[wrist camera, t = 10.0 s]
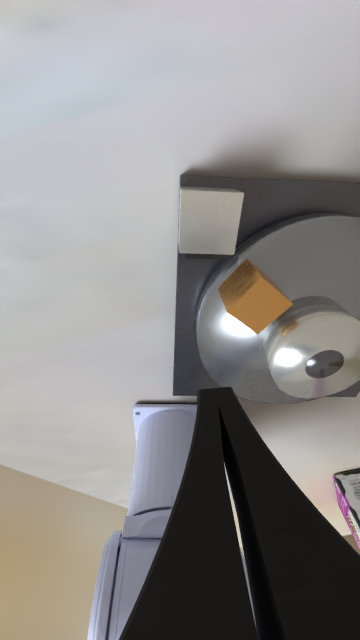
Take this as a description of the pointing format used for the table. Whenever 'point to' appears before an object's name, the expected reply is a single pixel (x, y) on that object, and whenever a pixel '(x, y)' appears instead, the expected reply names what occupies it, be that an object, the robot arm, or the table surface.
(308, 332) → the cover
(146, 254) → the table surface
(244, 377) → the turntable
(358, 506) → the candy bar box
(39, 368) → the table surface
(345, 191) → the base plate
